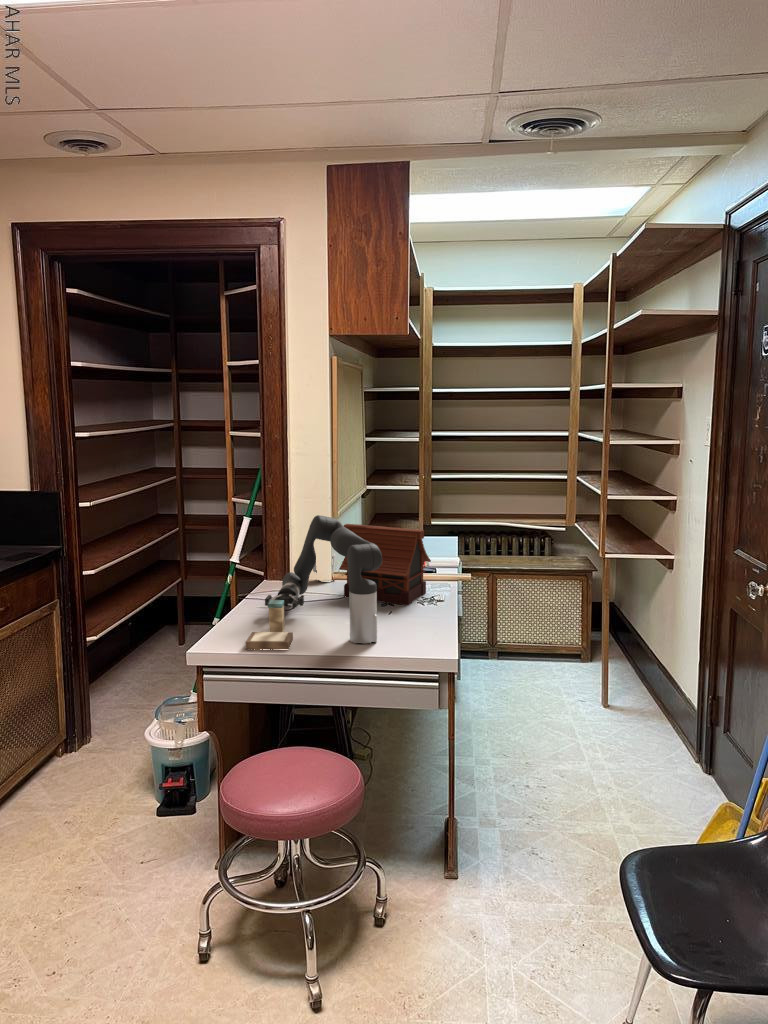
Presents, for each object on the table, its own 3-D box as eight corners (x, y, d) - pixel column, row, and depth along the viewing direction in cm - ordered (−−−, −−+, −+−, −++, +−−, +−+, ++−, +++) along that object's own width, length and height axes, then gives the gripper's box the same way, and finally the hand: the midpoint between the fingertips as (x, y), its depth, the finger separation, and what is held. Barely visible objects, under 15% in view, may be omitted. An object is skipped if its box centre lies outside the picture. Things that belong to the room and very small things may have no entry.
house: (434, 591, 309) (435, 524, 304) (409, 609, 283) (409, 536, 279) (360, 582, 323) (360, 518, 318) (330, 599, 297) (329, 529, 293)
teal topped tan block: (284, 630, 258) (284, 600, 256) (282, 634, 253) (281, 603, 252) (271, 629, 258) (270, 600, 256) (269, 634, 253) (268, 603, 252)
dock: (293, 640, 247) (292, 631, 247) (288, 650, 237) (288, 641, 237) (252, 639, 248) (252, 631, 247) (245, 650, 238) (245, 641, 237)
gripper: (270, 584, 280) (261, 596, 264) (306, 584, 280) (300, 596, 264) (270, 603, 282) (262, 615, 266) (307, 603, 281) (301, 616, 265)
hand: (281, 606), depth 265 cm, fingers open, 8 cm apart
